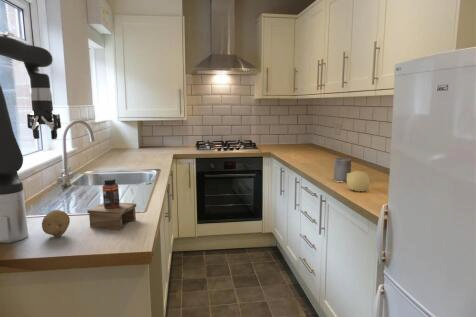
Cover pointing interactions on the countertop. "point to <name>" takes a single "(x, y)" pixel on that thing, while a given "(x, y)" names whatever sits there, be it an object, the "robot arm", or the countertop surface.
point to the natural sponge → (55, 223)
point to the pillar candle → (342, 168)
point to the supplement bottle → (110, 193)
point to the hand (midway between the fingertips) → (45, 138)
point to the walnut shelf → (111, 216)
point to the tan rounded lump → (358, 181)
